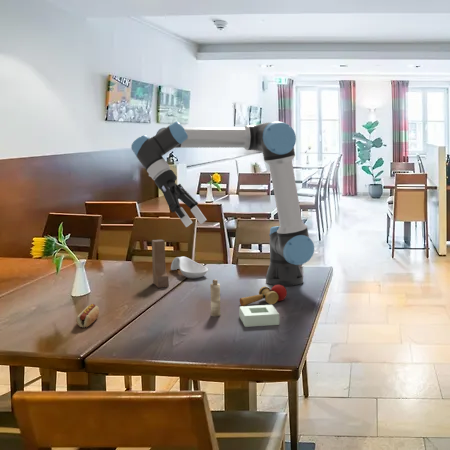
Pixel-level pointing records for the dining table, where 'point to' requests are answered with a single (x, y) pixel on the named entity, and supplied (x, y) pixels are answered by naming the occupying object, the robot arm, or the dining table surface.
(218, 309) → the beige bottle
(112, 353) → the dining table surface
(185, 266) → the spoon rest
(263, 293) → the kendama
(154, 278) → the wooden block
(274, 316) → the peg hole block
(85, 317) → the food
